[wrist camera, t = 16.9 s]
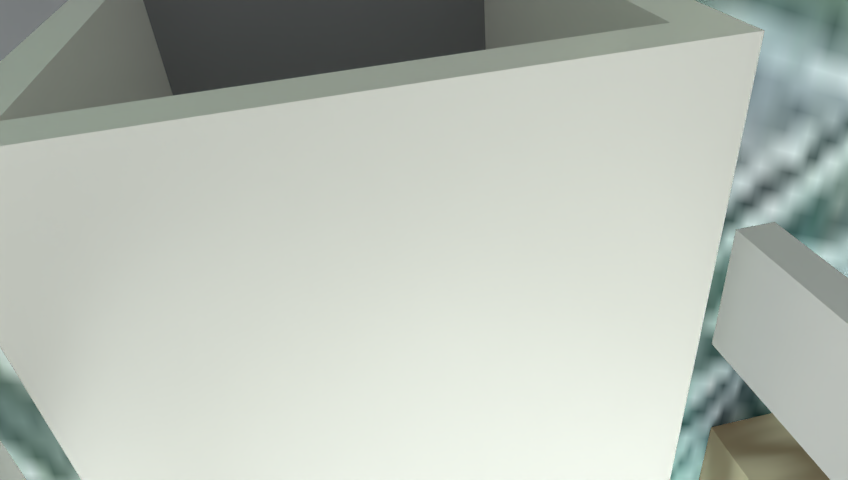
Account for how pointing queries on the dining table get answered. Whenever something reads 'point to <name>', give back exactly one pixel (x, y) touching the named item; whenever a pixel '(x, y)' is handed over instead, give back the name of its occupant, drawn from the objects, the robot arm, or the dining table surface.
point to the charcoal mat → (280, 35)
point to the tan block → (756, 453)
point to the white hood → (371, 248)
